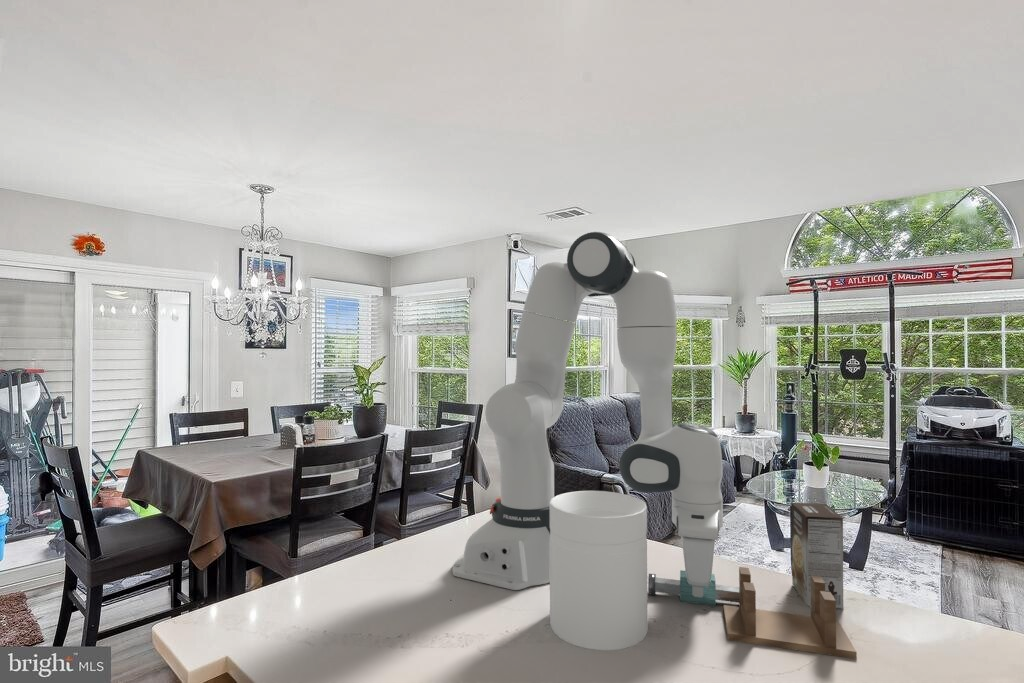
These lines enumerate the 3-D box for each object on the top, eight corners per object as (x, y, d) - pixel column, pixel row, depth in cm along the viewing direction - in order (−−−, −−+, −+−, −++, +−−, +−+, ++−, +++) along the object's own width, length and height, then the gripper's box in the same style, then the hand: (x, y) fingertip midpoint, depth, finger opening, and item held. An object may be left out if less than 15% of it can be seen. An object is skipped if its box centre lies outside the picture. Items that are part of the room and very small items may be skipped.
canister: (651, 609, 95) (651, 494, 96) (642, 658, 80) (641, 522, 80) (562, 596, 100) (562, 487, 101) (538, 639, 85) (537, 511, 86)
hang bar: (648, 597, 100) (648, 573, 100) (649, 589, 103) (649, 566, 103) (750, 611, 95) (749, 585, 95) (747, 601, 98) (747, 577, 98)
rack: (728, 639, 85) (727, 588, 85) (723, 610, 95) (723, 564, 95) (856, 658, 80) (855, 603, 80) (838, 625, 89) (837, 576, 90)
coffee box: (790, 584, 105) (789, 501, 106) (826, 587, 104) (825, 503, 104) (806, 606, 96) (805, 515, 97) (846, 609, 95) (844, 517, 95)
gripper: (679, 497, 110) (679, 566, 110) (678, 529, 90) (678, 613, 90) (712, 500, 108) (712, 570, 108) (718, 533, 89) (719, 618, 88)
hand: (697, 590), depth 99 cm, fingers closed on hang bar, 3 cm apart
